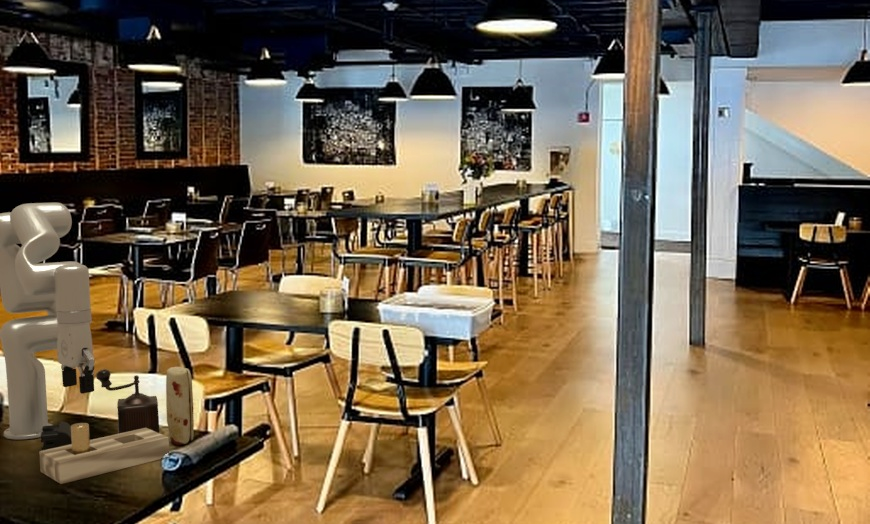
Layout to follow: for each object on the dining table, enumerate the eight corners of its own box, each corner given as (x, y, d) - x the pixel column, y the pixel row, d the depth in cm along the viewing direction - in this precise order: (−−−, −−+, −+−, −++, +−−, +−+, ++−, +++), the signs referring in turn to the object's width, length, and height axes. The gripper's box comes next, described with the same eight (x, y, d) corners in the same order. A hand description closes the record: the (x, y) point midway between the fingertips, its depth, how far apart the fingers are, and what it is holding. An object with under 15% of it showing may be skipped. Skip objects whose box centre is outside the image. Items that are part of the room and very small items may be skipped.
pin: (70, 470, 219) (67, 425, 218) (86, 466, 222) (84, 421, 221) (77, 474, 216) (74, 428, 215) (94, 470, 219) (91, 425, 218)
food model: (164, 439, 243) (161, 365, 241) (189, 435, 246) (186, 362, 244) (171, 449, 234) (168, 372, 232) (197, 445, 237) (194, 369, 235)
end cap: (72, 456, 230) (71, 430, 229) (41, 460, 227) (40, 433, 227) (73, 445, 239) (72, 419, 238) (44, 448, 237) (42, 422, 236)
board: (40, 471, 218) (39, 451, 218) (146, 446, 237) (146, 427, 236) (60, 484, 210) (59, 462, 209) (169, 456, 228) (168, 437, 228)
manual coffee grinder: (158, 427, 254) (155, 363, 252) (160, 439, 244) (157, 372, 242) (98, 433, 249) (95, 368, 247) (98, 445, 239) (94, 377, 237)
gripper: (43, 315, 219) (48, 386, 220) (73, 323, 206) (77, 398, 208) (74, 312, 224) (78, 381, 226) (105, 319, 211) (109, 392, 213)
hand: (78, 389), depth 217 cm, fingers open, 9 cm apart
